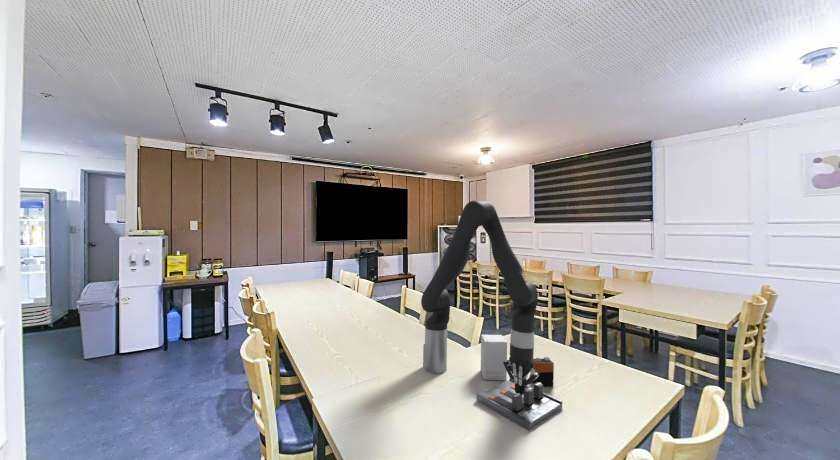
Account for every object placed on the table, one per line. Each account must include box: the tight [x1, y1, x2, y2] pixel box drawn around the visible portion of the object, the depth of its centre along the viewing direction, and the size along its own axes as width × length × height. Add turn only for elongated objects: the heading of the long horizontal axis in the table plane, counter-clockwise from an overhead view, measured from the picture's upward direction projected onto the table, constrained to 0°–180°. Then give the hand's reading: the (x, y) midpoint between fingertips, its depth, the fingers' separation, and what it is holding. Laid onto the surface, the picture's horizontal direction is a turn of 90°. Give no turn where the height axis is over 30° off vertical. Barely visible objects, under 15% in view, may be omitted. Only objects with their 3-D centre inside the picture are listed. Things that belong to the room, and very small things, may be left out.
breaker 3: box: [533, 382, 544, 399], centre depth 106 cm, size 2×2×4 cm
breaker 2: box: [523, 387, 534, 405], centre depth 102 cm, size 2×2×4 cm
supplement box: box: [480, 334, 508, 381], centre depth 127 cm, size 9×9×15 cm
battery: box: [531, 356, 555, 388], centre depth 120 cm, size 4×7×10 cm, turn 94°
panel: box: [476, 377, 563, 432], centre depth 105 cm, size 20×19×3 cm
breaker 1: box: [512, 393, 522, 411], centre depth 99 cm, size 2×2×4 cm
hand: (519, 394), depth 105 cm, fingers closed
